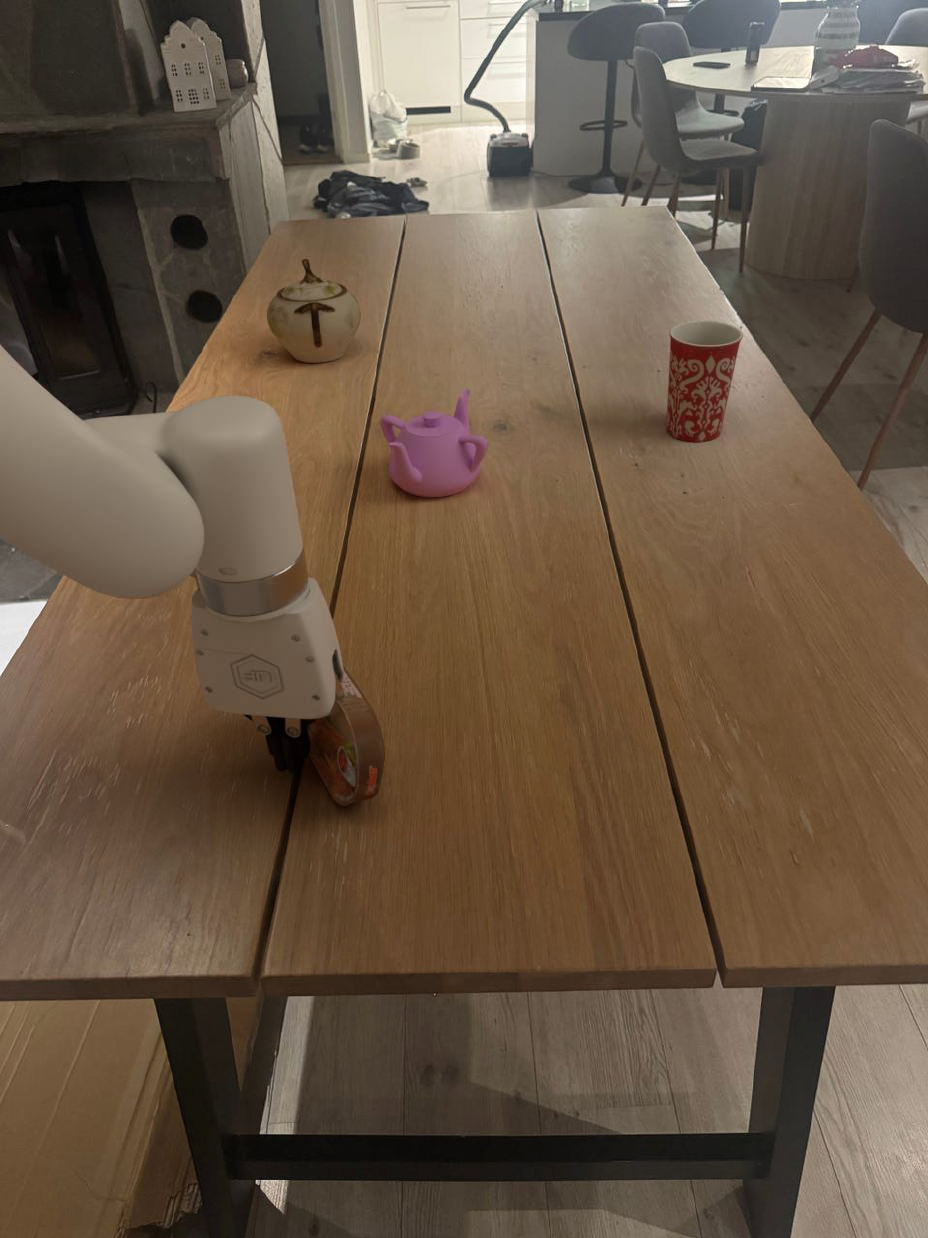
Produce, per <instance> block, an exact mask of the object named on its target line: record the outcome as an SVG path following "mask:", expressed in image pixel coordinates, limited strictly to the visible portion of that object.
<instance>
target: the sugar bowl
mask: <svg viewBox="0 0 928 1238" xmlns="http://www.w3.org/2000/svg"><path fill="white" fill-rule="evenodd" d="M301 264H302V266H303V268H304V273H305V274H304V277H303V279H301V280H298V281H295V282H292V283H290V284H289V285H287V286H285V287H282V288H281V289H279V290H278V291H277V292H276V294H275V296H273V298H272V299H271V301H270V302H269V304H268V307H267V310H266V320H267V325H268V327H269V330H270V332H271V333H272V334H273V336H274V337H275V338H276V340H277V341H278V342H279V343H280V345H282V346H283V347H284V348H285V349H286V350H287V351H288V352H289V353H290V355H291V356H292V357H293V358H294V359H295V360H296V361H299V362H303V363H308V364H309V363H310V364H312V363H313V364H318V363H327V362H332V361H336V360H338V359H340V358H341V357H343V356H344V354H345V353H346V350H347V349H348V347H349V345H350V344H351V342H352V340H353V339H354V337H355V335H356V333H357V332H358V329H359V327H360V323H361V319H362V311H361V306H360V304H359V302H358V299H357V298H356V297H355V295H354V294H353V293H352V292H351V291H350V290H348V289H347V287H346V286H345V285H343V284H341V283H337V282H334V281H332V280H328V279H322V278H321V277H318V276H316V275H315V274H314V273H313V271H312V269H311V263H310V260H309V259H308V258H303V259H302V260H301Z"/></svg>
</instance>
